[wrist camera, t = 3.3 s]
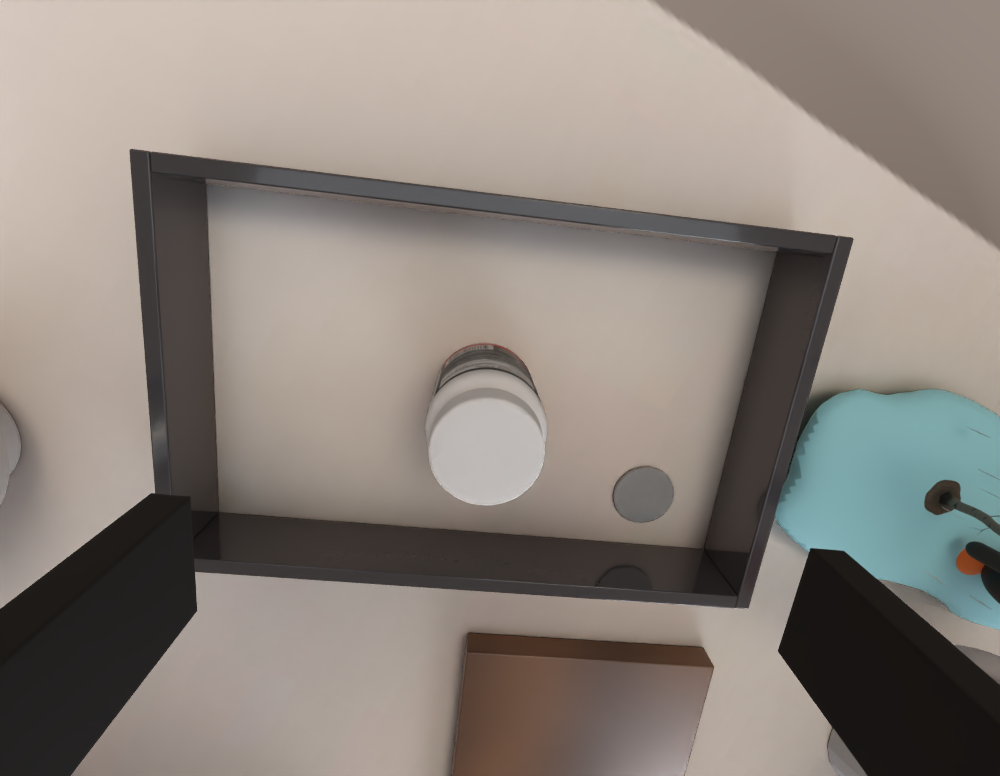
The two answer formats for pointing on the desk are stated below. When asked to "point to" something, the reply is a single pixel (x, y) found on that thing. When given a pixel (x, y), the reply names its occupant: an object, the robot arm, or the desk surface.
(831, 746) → the lava lamp
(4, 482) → the teacup
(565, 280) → the desk surface
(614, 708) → the board
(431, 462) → the pill bottle
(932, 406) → the penguin figurine
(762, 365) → the dark grey tray frame
